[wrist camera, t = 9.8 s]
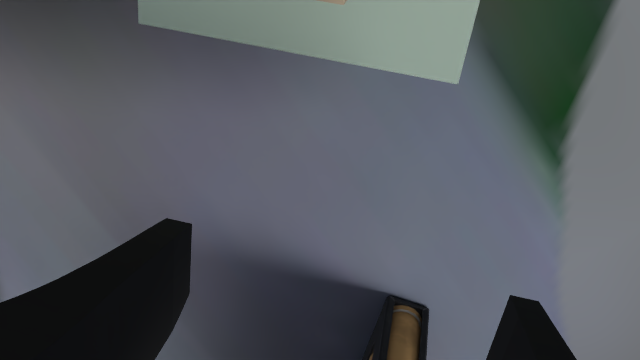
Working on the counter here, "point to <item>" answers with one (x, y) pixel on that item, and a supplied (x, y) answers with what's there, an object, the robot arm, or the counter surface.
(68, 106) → the counter surface
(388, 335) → the ammunition clip
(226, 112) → the counter surface
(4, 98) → the counter surface
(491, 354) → the robot arm
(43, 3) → the counter surface
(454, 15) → the sage base block
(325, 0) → the beech block
